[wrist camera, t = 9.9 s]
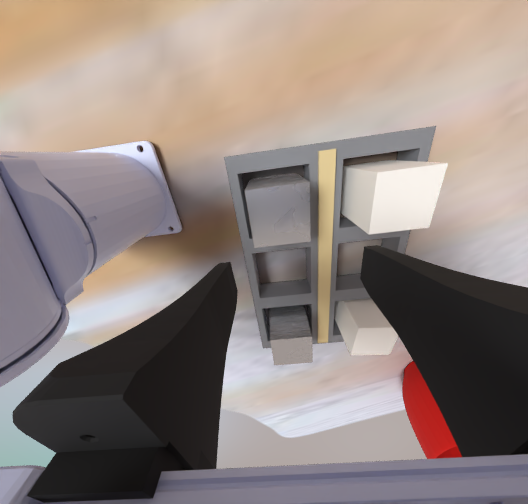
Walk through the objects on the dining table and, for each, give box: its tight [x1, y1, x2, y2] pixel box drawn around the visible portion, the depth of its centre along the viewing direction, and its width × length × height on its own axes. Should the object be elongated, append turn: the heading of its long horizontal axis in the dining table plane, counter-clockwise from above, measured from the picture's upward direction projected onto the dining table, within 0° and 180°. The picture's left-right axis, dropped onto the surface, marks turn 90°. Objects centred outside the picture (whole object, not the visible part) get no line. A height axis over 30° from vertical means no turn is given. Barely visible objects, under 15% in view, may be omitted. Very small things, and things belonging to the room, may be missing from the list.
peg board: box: [224, 126, 436, 348], centre depth 19 cm, size 15×22×3 cm
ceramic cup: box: [402, 361, 462, 459], centre depth 25 cm, size 13×17×10 cm
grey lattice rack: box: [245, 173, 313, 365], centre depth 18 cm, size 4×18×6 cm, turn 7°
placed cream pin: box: [340, 160, 448, 235], centre depth 15 cm, size 4×4×6 cm
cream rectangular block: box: [334, 298, 398, 355], centre depth 21 cm, size 4×4×6 cm
